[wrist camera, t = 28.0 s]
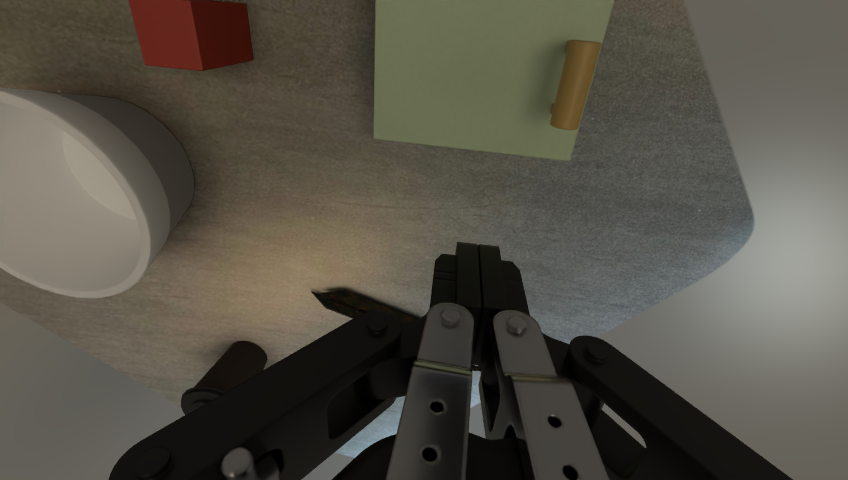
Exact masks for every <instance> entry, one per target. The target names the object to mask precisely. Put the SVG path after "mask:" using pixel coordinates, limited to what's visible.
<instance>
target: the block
mask: <svg viewBox="0 0 848 480" xmlns="http://www.w3.org/2000/svg"><path fill="white" fill-rule="evenodd" d="M129 4H130V8H131V12H132V16H133V20H134V23H135V27H136V31H137V35H138V39H139V43H140V47H141V51H142V55H143V59H144V63H145V65H150V66H159V67H169V68H179V69H189V70H199V71H205V70H209V69H214V68H219V67H223V66H228V65H233V64H237V63H242V62H247V61H251V60H253V54H252V46H251V38H250V30H249V22H248V15H247V7H246V4H243V3H233V2H222V1H212V0H129Z"/></svg>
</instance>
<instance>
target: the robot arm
mask: <svg viewBox="0 0 848 480" xmlns="http://www.w3.org/2000/svg"><path fill="white" fill-rule="evenodd" d="M471 357H472V364H476V365H481V376H480V381H479V393H480V400H481V408H482V415H483V423H484V430H485V438H486V439H485V438H482V437H480V436H477V435H474V434H472V433H469V417H470V402H471V387H472V370H471ZM401 396H406V397H405V401H404V405H403V409H402V413H401V418H400V422H399V426H398V430H397V434H396V435H392V436H389V437H386V438H384V439H381V440H379V441H377V442H376V443H374V444H372V445H370V446H369V447H368V448H366V449H365V450H363V451H362V452H361V453H360V454H359V455H358V456H357V457H356V458H354V459H353V460H352V461H351V462H350V463H349V464H348V465H347V466H346V467H345V468H344V469H343V470H342V471H341V472H340V473H338V474H337V475H336V476H335V477H334V478H333V479H332V480H793V479H791V478H790V477H789V476H787V475H786V474H785V473H783V472H782V471H781V470H779V469H777V468H776V467H775V466H774V465H772V464H771V463H770V462H768V461H767V460H766V459H764V458H763V457H762V456H760V455H759V454H758V453H756V452H755V451H754V450H752V449H751V448H749V447H748V446H747V445H745V444H744V443H743V442H741V441H740V440H739V439H737V438H736V437H735V436H733V435H732V434H731V433H729V432H728V431H726V430H725V429H724V428H722V427H721V426H720V425H718V424H717V423H716V422H714V421H713V420H711V419H710V418H709V417H707V416H706V415H705V414H703V413H702V412H701V411H699V410H698V409H697V408H695V407H694V406H692V405H691V404H690V403H689V402H687V401H686V400H685V399H683V398H682V397H681V396H679V395H678V394H676V393H675V392H674V391H672V390H671V389H670V388H668V387H667V386H666V385H664V384H663V383H662V382H660V381H659V380H658V379H656V378H655V377H654V376H652V375H651V374H649V373H648V372H647V371H645V370H644V369H643V368H641V367H640V366H639V365H637V364H636V363H635V362H633V361H632V360H631V359H629V358H628V357H626V356H625V355H624V354H622V353H621V352H619V351H618V350H617V349H616V348H614V347H613V346H612V345H610V344H609V343H607V342H605V341H604V340H601V339H599V338H596V337H592V336H578V337H575V338H574V339H572V341H571V342H570V344H567V343H564V342H561V341H559V340H556V339H553V338H551V337H549V336H547V335H545V334H543V333H542V331H541V328H540V326H539V324H538V323H537V321H536V320H535V319H533V318H532V317H531V316H530V314H529V309H528V305H527V300H526V296H525V291H524V287H523V282H522V278H521V273H520V270H519V269H518V268H517V267H516V265H515V264H514V263H513V262H512V261H503V260H501V256H500V249H499V246H490V245H482V244H479V245H477V244H472V243H463V242H457V246H456V253H455V255H449V254H441V255H440V256H439V257H438V258H437V259H436V261H435V267H434V275H433V284H432V293H431V302H430V309H429V311H428V312H427V314H426V315H425V316H423V317H422V318H420V319H418V320H415V321H410V322H403V323H401V322H400V320H399V319H398V318H397V317H396V316H395V315H393V314H392V313H389V312H386V311H381V310H373V311H368V312H365V313H363V314H361V315H359V316H357V317H355V318H354V319H352V320H350V321H348V322H347V323H345V324H343V325H341V326H340V327H338V328H336V329H335V330H333V331H331V332H329V333H328V334H326V335H324V336H322V337H321V338H319V339H317V340H315V341H314V342H312V343H310V344H308V345H307V346H305V347H303V348H301V349H300V350H298V351H296V352H295V353H293V354H291V355H289V356H288V357H286V358H284V359H282V360H281V361H279V362H277V363H275V364H274V365H272V366H270V367H268V368H267V369H265V370H263V371H261V372H260V373H258V374H256V375H254V376H253V377H251V378H249V379H248V380H246V381H244V382H242V383H241V384H239V385H237V386H235V387H234V388H232V389H230V390H228V391H227V392H225V393H223V394H221V395H220V396H218V397H216V398H214V399H213V400H211V401H209V402H208V403H206V404H204V405H202V406H201V407H199V408H197V409H195V410H194V411H192V412H190V413H188V414H187V415H185V416H183V417H181V418H180V419H178V420H176V421H174V422H173V423H171V424H169V425H168V426H166V427H164V428H162V429H161V430H159V431H157V432H155V433H154V434H152V435H151V436H149V437H147V438H145V439H143V440H141V441H140V442H138V443H137V444H135V445H134V446H133V447H132V448H130V449H129V450H128V451H127V452H126V453H125V454H124V455H123V456H122V457H121V458H120V459H119V460H118V462H117V463H116V465H115V466H114V468H113V470H112V472H111V474H110V477H109V480H301V479H303V478H304V477H305V476H306V475H307V474H309V473H310V472H311V471H312V470H313V469H315V468H316V467H317V466H318V465H319V464H321V463H322V462H323V461H324V460H326V459H327V458H328V457H329V456H330V455H332V454H333V453H334V452H335V451H337V450H338V449H339V448H340V447H341V446H343V445H344V444H345V443H346V442H347V441H349V440H350V439H351V438H352V437H354V436H355V435H356V434H357V433H358V432H360V431H361V430H362V429H363V428H364V427H366V426H367V425H368V424H369V423H370V422H372V421H373V420H374V419H375V418H377V417H378V416H379V415H380V414H381V413H383V412H384V411H385V410H386V409H387V408H389V407H390V406H391V405H392V404H393V403H394V401H395V399H396V397H401ZM604 403H605V404H606V405H607V406H608V407H609V408H611V409H612V410H613V411H614V412H615V413H616V414H618V415H619V416H620V417H621V418H622V419H623V420H625V421H626V422H627V423H628V424H629V425H630V426H631V427H633V428H634V429H635V430H636V431H637V432H638V433H639V434H640V435H641V436H642V438H643V439H644V441H645V444H646V448H644V447H643V446H642V445H641V444H640V443H639V442H638V441H636V440H635V439H634V438H633V437H632V436H631V435H630V434H628V433H627V432H626V431H625V430H624V429H623V428H622V427H621V426H620V425H618V424H617V423H616V422H615V421H614V420H613V419H612V418H610V417H609V416H608V415H607V414H606V413H605V412H604V411H602V407H603V405H604Z"/></svg>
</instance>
